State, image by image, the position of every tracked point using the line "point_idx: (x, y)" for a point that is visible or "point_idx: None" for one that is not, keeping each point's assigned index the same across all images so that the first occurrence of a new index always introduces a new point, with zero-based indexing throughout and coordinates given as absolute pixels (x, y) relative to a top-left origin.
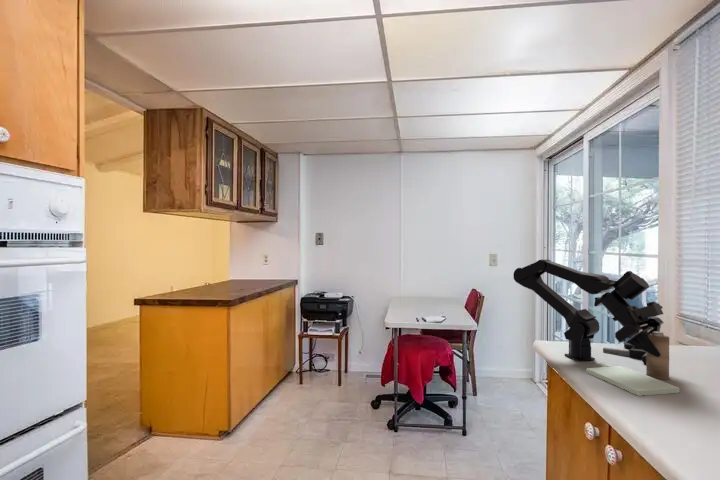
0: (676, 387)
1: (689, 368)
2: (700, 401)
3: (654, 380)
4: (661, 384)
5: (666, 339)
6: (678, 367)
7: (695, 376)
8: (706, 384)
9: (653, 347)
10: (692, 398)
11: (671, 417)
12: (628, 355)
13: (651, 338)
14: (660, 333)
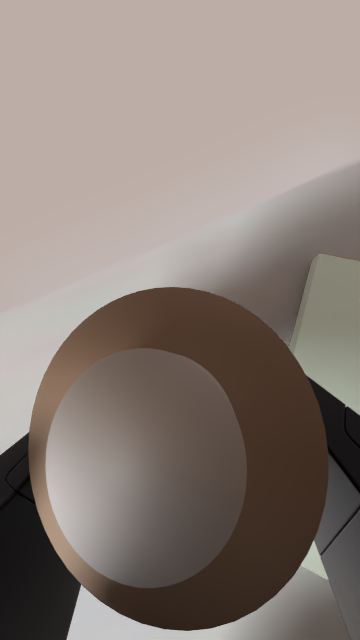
0: (324, 259)
1: (15, 365)
2: (329, 200)
3: (323, 337)
4: (348, 299)
5: (200, 296)
6: (27, 390)
7: None
8: (147, 266)
9: (314, 382)
10: (325, 221)
11: None
12: None
13: (313, 455)
14: (183, 376)
